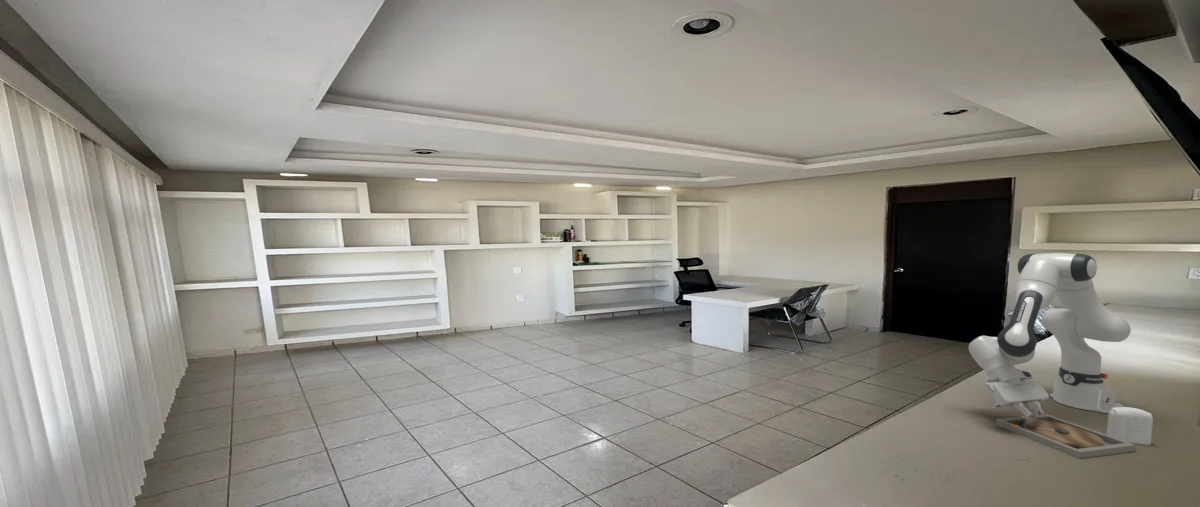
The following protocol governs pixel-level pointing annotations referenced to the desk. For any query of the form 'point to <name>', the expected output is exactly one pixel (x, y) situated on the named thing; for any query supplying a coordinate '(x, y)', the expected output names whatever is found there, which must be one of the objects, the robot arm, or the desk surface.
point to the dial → (1060, 430)
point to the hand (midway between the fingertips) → (1035, 415)
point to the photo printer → (1130, 425)
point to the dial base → (1110, 444)
